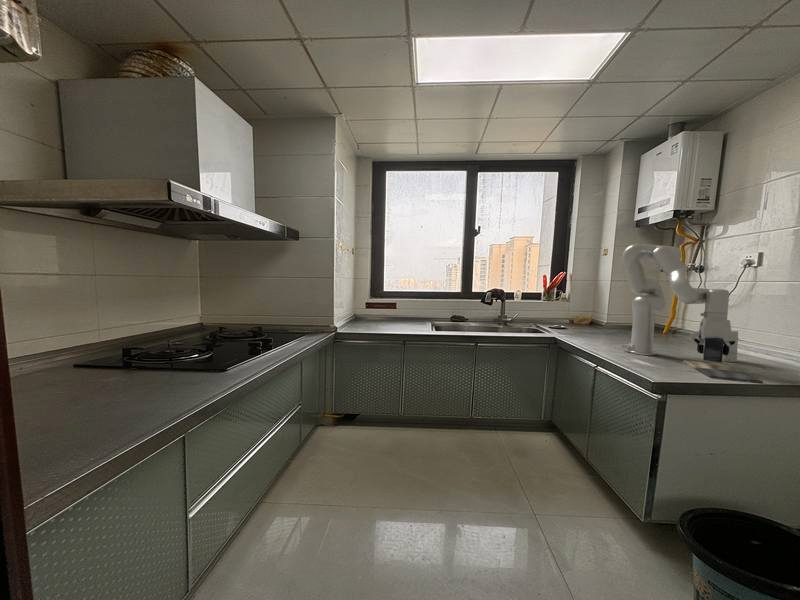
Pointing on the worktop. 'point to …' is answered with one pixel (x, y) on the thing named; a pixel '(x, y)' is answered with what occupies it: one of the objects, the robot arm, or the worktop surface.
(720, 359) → the small box
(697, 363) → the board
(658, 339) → the worktop surface
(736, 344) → the skincare box
